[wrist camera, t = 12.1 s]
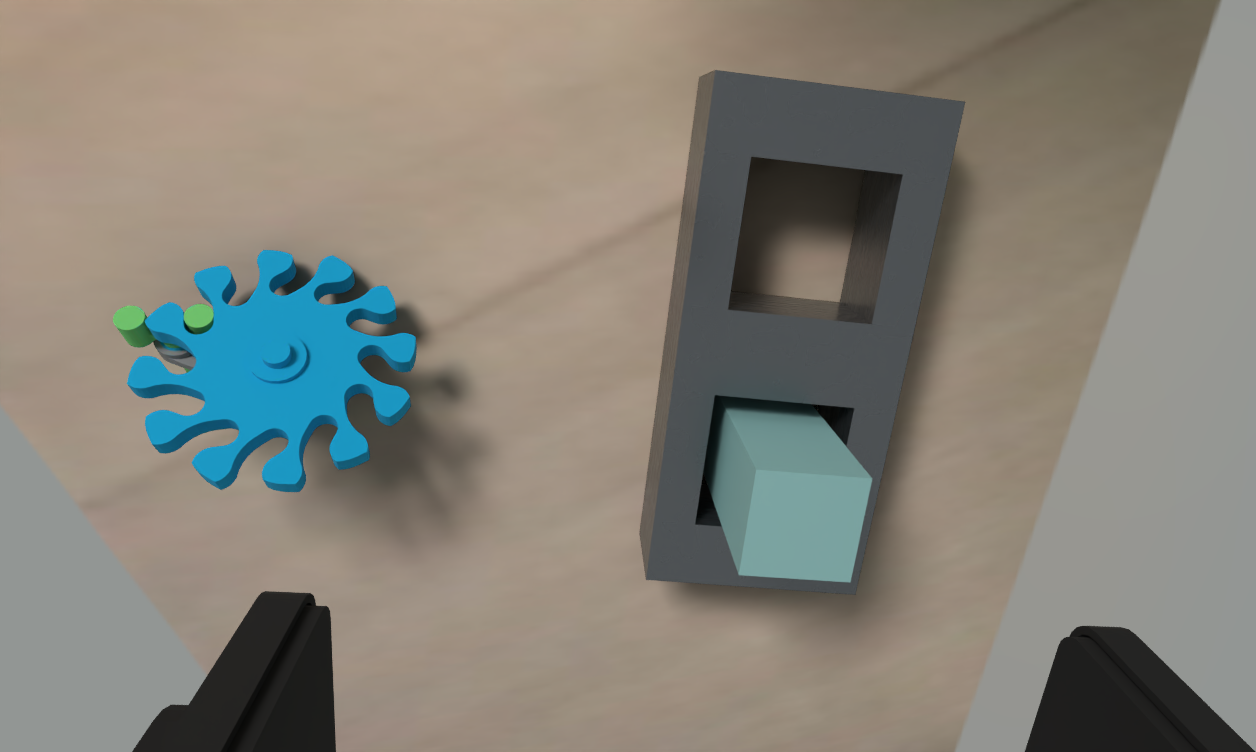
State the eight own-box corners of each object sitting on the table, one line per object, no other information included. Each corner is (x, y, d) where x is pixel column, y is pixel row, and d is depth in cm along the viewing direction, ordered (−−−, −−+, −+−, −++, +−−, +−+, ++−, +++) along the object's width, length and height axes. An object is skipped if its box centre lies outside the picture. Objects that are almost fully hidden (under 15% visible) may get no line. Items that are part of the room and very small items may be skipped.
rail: (699, 77, 31) (715, 70, 28) (920, 104, 32) (964, 101, 28) (639, 533, 37) (646, 579, 33) (828, 547, 38) (855, 594, 34)
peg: (714, 386, 35) (756, 469, 27) (802, 393, 36) (872, 478, 27) (702, 469, 37) (738, 575, 28) (788, 476, 37) (850, 582, 28)
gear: (458, 294, 32) (338, 522, 27) (458, 365, 37) (357, 567, 32) (195, 195, 32) (26, 407, 27) (232, 280, 37) (95, 470, 32)
